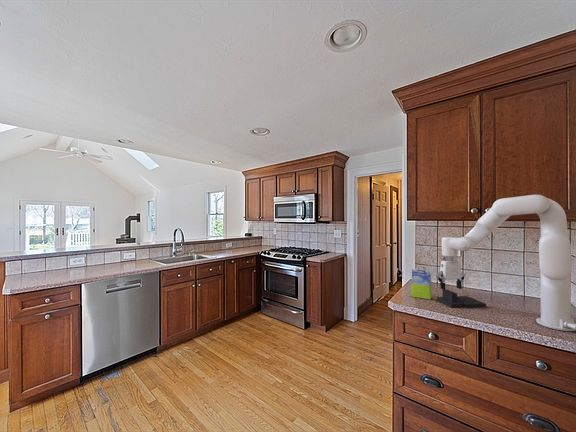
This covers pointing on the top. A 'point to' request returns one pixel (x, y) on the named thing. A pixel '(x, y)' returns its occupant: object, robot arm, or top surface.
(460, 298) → the base pad
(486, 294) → the top surface
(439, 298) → the pad
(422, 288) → the box
